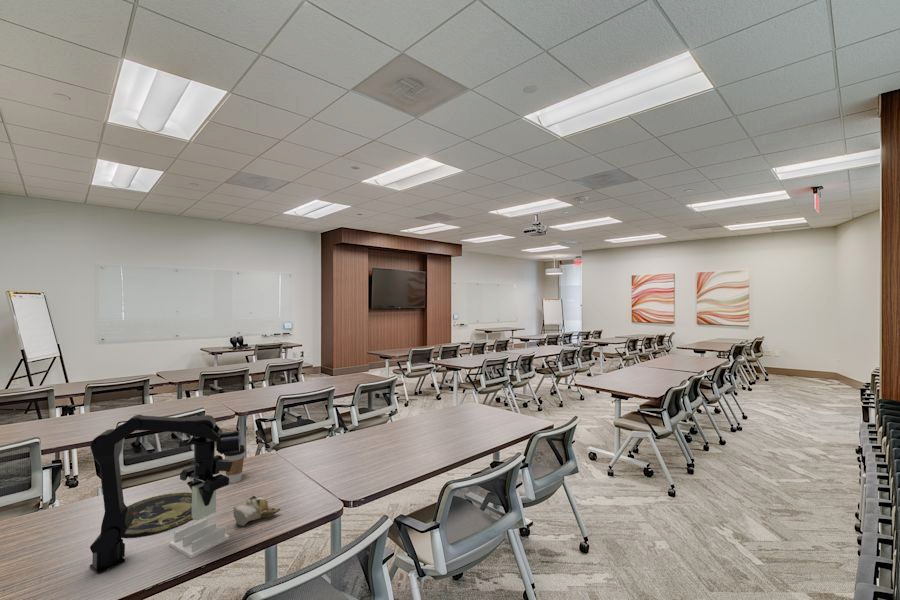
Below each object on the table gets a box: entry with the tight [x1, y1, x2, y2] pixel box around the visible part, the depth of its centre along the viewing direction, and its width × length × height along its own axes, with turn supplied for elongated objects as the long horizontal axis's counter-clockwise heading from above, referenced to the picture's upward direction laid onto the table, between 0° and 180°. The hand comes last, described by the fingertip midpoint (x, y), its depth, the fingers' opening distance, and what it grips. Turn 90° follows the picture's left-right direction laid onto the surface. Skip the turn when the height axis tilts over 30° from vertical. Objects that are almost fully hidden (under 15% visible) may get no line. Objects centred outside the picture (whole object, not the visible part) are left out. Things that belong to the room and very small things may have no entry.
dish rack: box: [168, 517, 230, 559], centre depth 129 cm, size 12×13×4 cm
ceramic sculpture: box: [233, 495, 281, 527], centre depth 143 cm, size 11×9×15 cm
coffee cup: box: [223, 444, 246, 484], centre depth 175 cm, size 8×8×15 cm
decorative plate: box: [121, 491, 194, 539], centre depth 146 cm, size 30×2×30 cm
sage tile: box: [191, 482, 217, 522], centre depth 127 cm, size 6×3×10 cm, turn 150°
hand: (204, 504), depth 127 cm, fingers closed on sage tile, 3 cm apart
